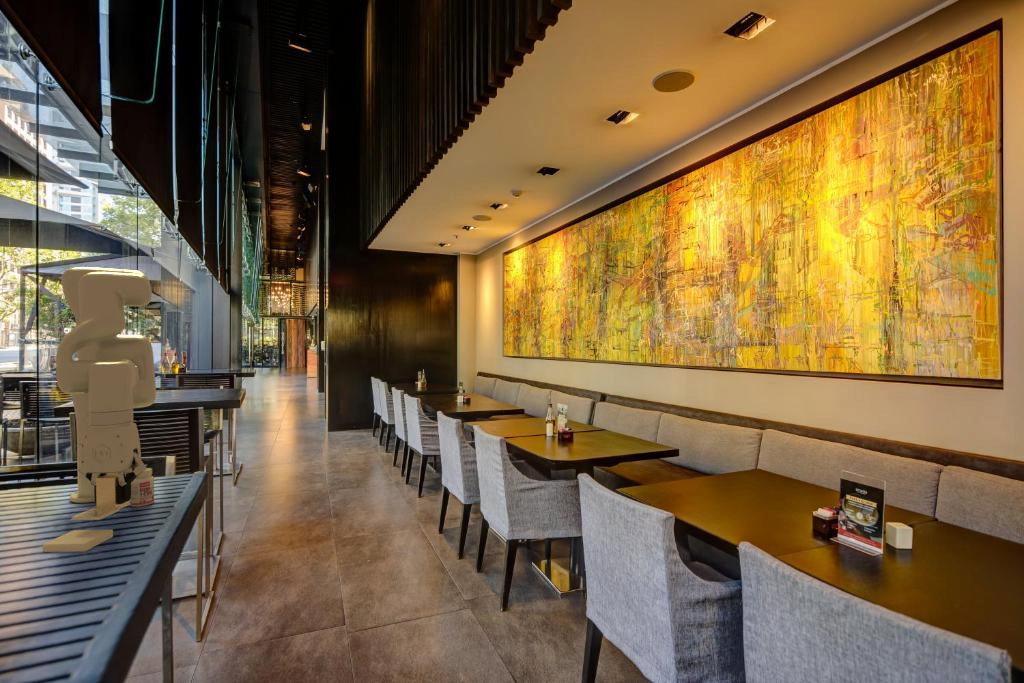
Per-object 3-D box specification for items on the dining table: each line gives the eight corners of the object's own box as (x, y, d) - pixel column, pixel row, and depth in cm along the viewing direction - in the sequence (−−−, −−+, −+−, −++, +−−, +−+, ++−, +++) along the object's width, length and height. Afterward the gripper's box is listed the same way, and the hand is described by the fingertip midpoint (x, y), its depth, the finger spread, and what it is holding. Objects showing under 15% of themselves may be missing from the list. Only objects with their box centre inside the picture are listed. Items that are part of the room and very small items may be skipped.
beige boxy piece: (107, 504, 111) (107, 473, 111) (133, 504, 111) (132, 472, 111) (71, 519, 102) (71, 485, 102) (99, 519, 102) (98, 485, 102)
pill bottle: (141, 507, 121) (141, 473, 121) (125, 506, 122) (124, 472, 122) (159, 501, 126) (158, 467, 126) (143, 500, 127) (142, 467, 127)
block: (73, 530, 104) (42, 544, 97) (112, 529, 104) (84, 543, 97) (73, 538, 104) (42, 553, 97) (112, 538, 104) (84, 552, 97)
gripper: (57, 421, 105) (58, 508, 105) (137, 421, 105) (139, 508, 106) (87, 415, 113) (88, 497, 113) (162, 415, 113) (163, 496, 113)
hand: (113, 501), depth 109 cm, fingers closed on beige boxy piece, 4 cm apart
